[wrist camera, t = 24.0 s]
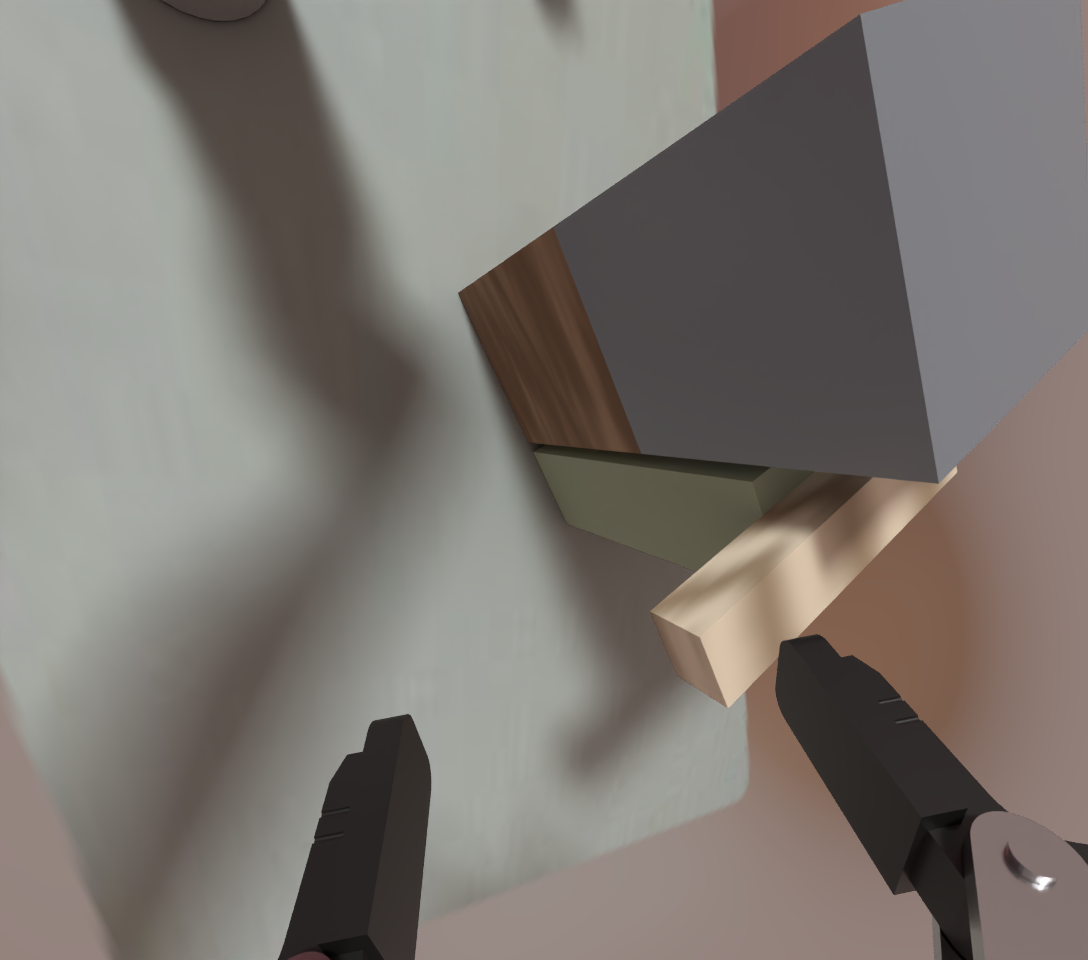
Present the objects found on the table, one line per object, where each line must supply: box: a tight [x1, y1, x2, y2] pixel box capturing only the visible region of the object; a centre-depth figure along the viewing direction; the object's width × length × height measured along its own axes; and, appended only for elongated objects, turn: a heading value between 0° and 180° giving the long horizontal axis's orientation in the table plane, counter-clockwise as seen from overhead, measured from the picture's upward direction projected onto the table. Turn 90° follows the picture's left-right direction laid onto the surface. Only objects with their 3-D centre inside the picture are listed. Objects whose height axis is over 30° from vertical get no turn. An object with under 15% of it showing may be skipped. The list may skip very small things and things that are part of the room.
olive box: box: [533, 444, 814, 572], centre depth 39 cm, size 14×8×24 cm, turn 117°
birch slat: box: [650, 467, 957, 708], centre depth 25 cm, size 20×4×3 cm, turn 117°
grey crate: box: [553, 0, 1088, 484], centre depth 24 cm, size 14×14×16 cm
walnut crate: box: [459, 228, 641, 454], centre depth 38 cm, size 14×14×16 cm
